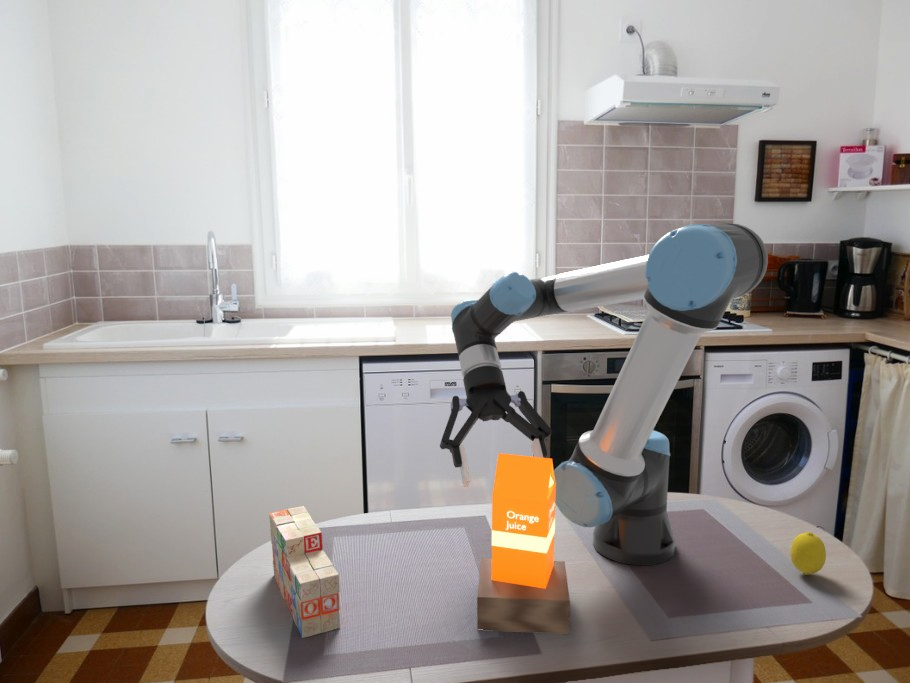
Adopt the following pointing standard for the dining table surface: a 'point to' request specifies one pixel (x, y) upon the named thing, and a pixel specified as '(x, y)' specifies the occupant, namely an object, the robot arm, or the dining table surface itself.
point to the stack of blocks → (304, 571)
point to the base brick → (523, 603)
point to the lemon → (808, 553)
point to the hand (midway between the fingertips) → (505, 479)
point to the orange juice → (523, 520)
